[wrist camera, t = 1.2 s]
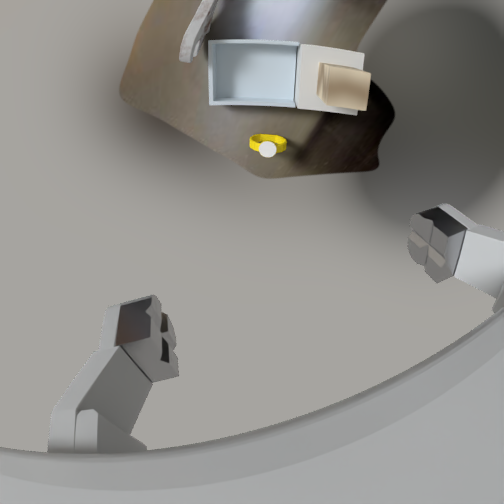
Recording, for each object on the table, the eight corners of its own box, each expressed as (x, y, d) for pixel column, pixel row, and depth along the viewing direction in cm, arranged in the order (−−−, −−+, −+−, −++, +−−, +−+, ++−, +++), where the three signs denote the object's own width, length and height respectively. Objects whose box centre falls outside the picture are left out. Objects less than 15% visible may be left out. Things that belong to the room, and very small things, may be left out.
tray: (212, 40, 37) (208, 40, 34) (296, 42, 36) (299, 42, 33) (213, 100, 44) (209, 105, 41) (292, 102, 43) (295, 107, 40)
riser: (297, 44, 37) (302, 44, 32) (353, 52, 36) (364, 53, 32) (294, 101, 43) (297, 108, 39) (347, 107, 43) (356, 115, 38)
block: (318, 62, 34) (330, 66, 28) (353, 67, 34) (371, 73, 28) (316, 94, 37) (326, 105, 31) (349, 98, 37) (366, 111, 31)
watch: (251, 143, 49) (246, 155, 44) (252, 128, 47) (247, 139, 43) (285, 147, 49) (285, 159, 44) (287, 132, 47) (286, 143, 42)
